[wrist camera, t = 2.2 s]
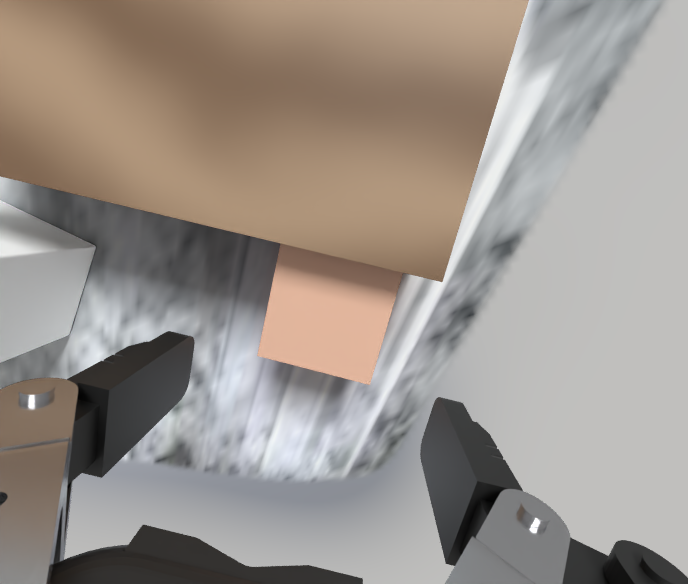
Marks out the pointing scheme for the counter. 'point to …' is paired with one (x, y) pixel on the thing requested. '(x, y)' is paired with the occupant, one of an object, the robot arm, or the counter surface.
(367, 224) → the wooden bench
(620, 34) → the counter surface
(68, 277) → the milk
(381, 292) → the block
